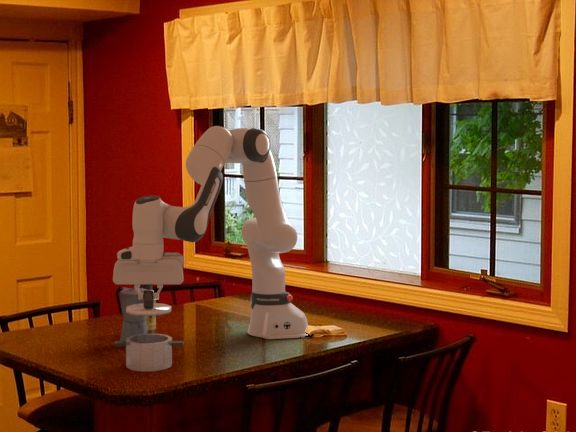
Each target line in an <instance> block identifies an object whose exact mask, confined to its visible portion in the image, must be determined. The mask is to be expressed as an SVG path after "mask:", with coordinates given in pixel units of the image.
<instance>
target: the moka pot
mask: <svg viewBox="0 0 576 432" xmlns="http://www.w3.org/2000/svg"><path fill="white" fill-rule="evenodd" d="M132 285H133V287H129V288H128V287H126V286H125V287H123V286H121V285H119V286H118V288H117V289H116V290H115V299H116V303H117V307H118V312H119V314H120V315H121V316H123V321H122V326H121V332H120V339H119V341H126V339H127V337H130V336H133V335H139V334H147V328H146V321H145V320H146V316H136V315H130V314H127V313H126V307H127V306H130V305H134V304H141V303H143V300H138V294H137V292H136V290H135V289H134V284H132ZM139 290H140V292H141V293H143V290H147V289H143V288H141V287H139Z"/></svg>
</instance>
